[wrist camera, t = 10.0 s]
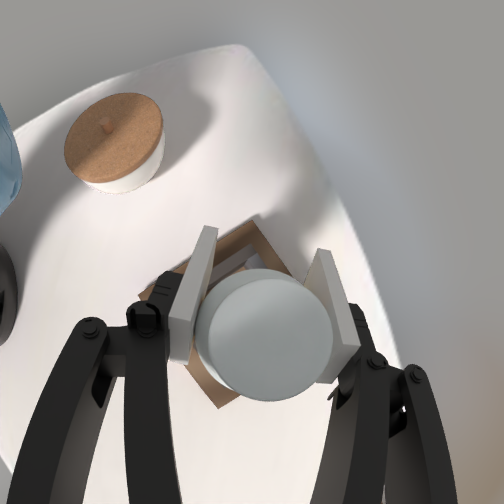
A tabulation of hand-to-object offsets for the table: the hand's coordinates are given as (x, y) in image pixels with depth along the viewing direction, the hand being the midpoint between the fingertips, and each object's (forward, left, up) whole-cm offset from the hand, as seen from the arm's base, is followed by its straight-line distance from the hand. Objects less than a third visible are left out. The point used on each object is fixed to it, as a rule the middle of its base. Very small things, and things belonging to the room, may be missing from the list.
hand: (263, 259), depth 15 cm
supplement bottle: (+3, -3, -4) cm, 5 cm away
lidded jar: (-19, -4, -14) cm, 24 cm away
